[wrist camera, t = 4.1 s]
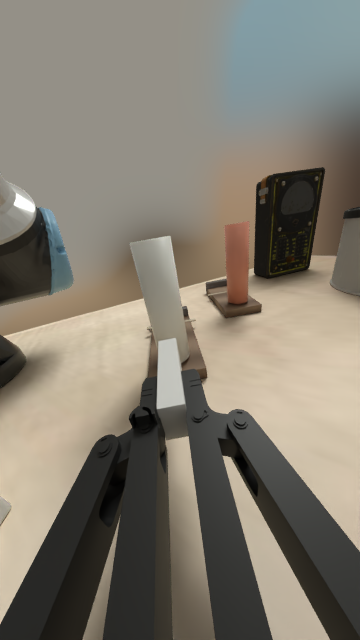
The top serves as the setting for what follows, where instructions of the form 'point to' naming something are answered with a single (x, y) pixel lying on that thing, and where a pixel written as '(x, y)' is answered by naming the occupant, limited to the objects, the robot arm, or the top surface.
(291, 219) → the voltmeter
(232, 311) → the brown base
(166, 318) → the grey plug
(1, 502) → the tall white carton
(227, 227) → the terracotta plug
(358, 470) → the top surface
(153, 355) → the brown wooden board
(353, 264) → the container
